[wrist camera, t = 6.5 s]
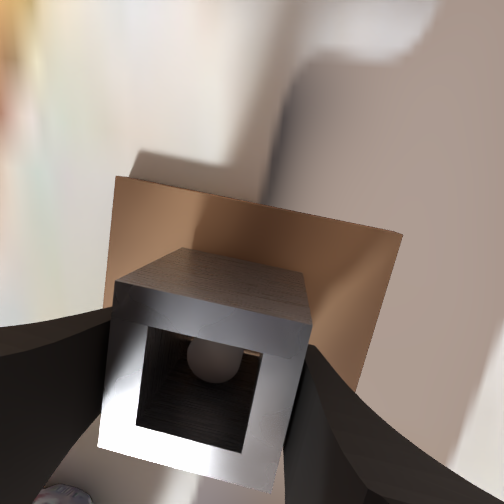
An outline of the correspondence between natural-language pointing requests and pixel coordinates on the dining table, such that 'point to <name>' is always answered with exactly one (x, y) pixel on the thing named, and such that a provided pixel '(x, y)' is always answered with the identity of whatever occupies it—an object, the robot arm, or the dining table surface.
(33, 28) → the dining table surface
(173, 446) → the collar
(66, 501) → the red grey chunky piece
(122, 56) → the dining table surface
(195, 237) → the shaft block
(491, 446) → the dining table surface
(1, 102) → the dining table surface
